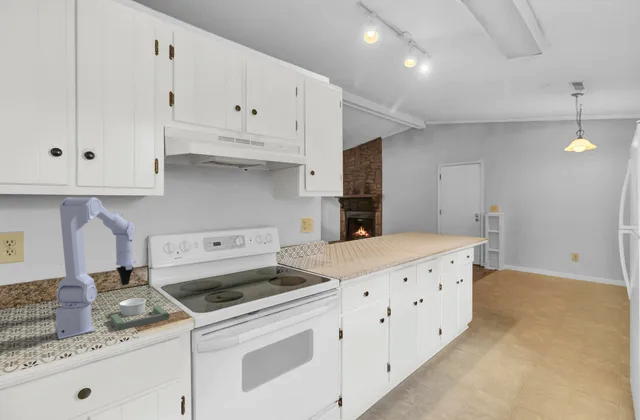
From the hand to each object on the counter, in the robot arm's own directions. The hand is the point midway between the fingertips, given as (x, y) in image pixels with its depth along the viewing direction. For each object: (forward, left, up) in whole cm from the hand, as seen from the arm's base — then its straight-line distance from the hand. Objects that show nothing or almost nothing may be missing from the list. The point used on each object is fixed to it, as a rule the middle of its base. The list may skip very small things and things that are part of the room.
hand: (125, 284), depth 139 cm
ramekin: (0, -12, -9) cm, 14 cm away
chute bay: (0, -22, -8) cm, 23 cm away
